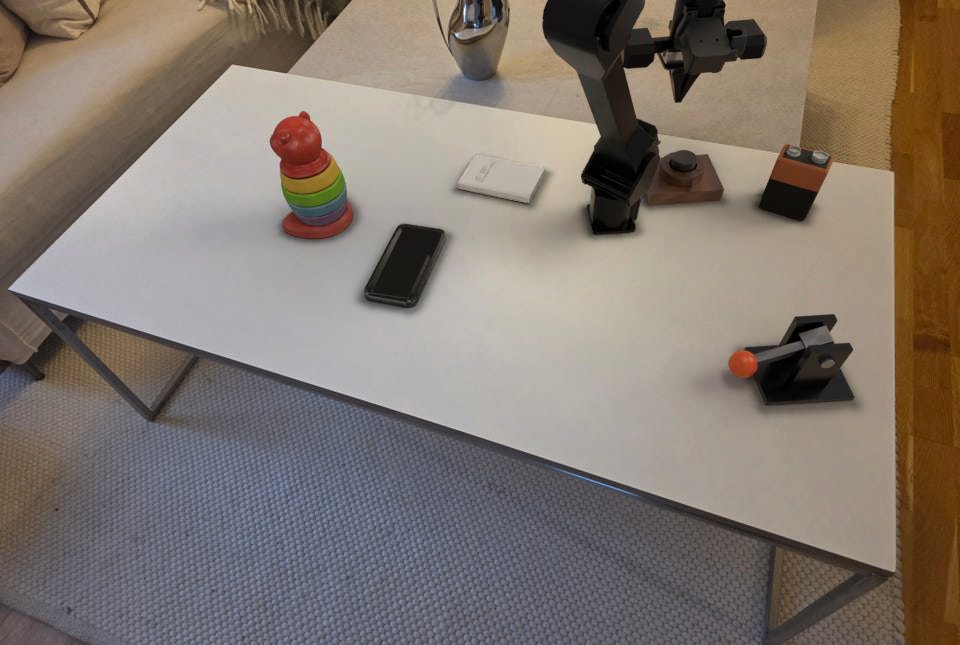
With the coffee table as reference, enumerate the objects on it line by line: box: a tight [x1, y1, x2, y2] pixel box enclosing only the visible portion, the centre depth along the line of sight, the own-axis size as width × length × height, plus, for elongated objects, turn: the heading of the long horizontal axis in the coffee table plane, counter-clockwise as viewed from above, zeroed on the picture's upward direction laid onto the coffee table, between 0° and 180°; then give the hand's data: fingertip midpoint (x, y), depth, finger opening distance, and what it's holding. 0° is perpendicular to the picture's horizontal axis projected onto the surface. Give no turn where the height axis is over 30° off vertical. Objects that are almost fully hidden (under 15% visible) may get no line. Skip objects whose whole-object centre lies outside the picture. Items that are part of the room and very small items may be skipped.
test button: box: [671, 149, 697, 173], centre depth 90 cm, size 4×4×2 cm
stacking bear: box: [269, 110, 354, 239], centre depth 87 cm, size 11×10×18 cm
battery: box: [758, 143, 835, 221], centre depth 85 cm, size 4×7×10 cm, turn 58°
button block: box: [645, 151, 725, 206], centre depth 92 cm, size 11×9×4 cm
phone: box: [363, 223, 447, 308], centre depth 86 cm, size 8×1×15 cm
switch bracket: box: [743, 313, 856, 407], centre depth 67 cm, size 10×8×9 cm
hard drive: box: [457, 154, 546, 205], centre depth 97 cm, size 2×8×12 cm
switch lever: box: [727, 326, 835, 379], centre depth 67 cm, size 11×3×3 cm, turn 93°
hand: (677, 101), depth 86 cm, fingers closed
